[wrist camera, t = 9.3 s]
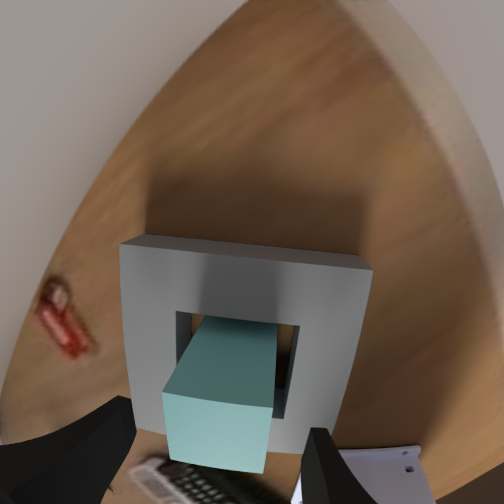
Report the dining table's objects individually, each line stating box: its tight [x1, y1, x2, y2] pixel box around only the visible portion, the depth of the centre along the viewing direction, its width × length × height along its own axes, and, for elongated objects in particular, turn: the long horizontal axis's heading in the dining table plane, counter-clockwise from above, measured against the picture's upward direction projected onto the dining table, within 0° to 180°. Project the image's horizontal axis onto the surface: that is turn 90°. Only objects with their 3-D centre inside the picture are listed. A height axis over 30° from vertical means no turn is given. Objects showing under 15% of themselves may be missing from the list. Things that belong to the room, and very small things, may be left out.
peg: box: [162, 315, 278, 473], centre depth 15 cm, size 4×4×8 cm
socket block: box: [119, 234, 373, 454], centre depth 17 cm, size 12×12×3 cm
